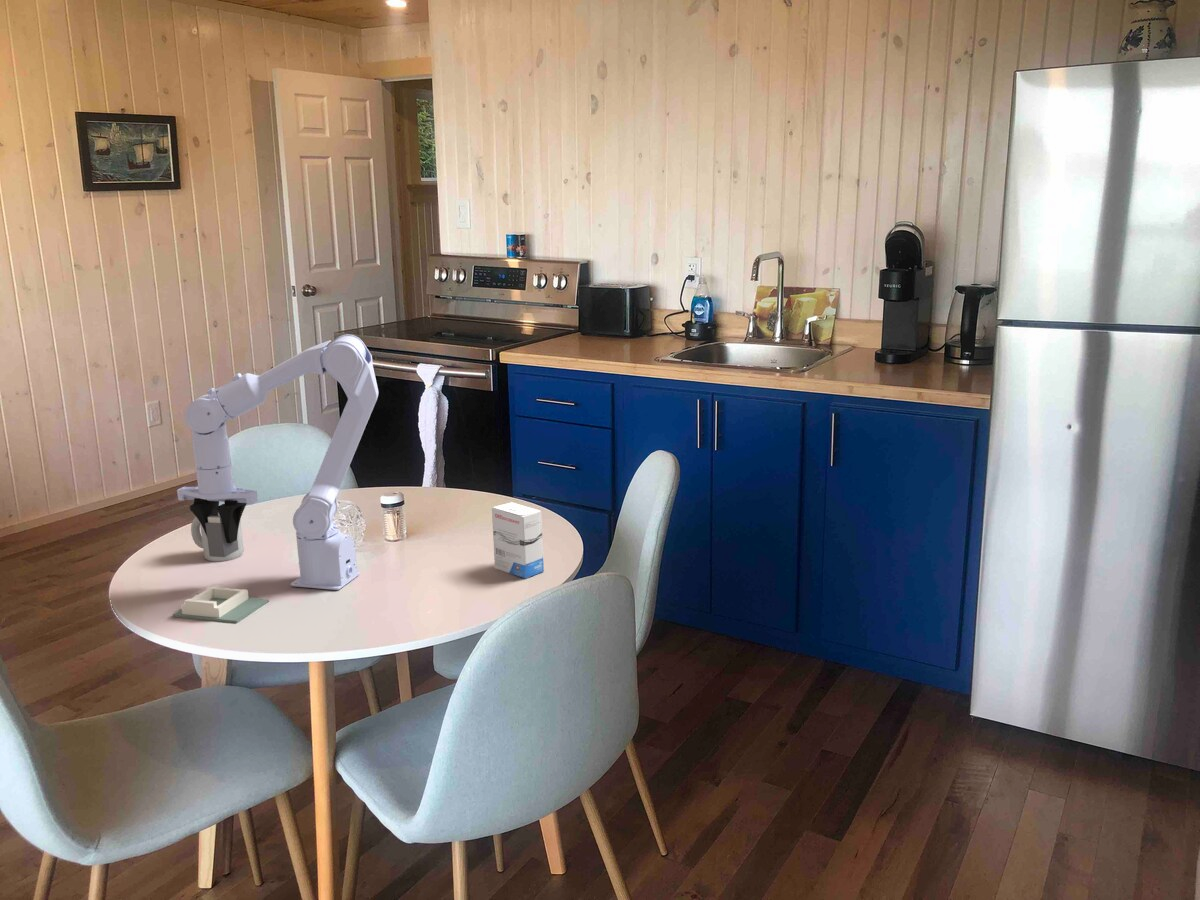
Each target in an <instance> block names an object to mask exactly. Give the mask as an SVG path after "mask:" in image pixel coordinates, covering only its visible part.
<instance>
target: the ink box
mask: <svg viewBox="0 0 1200 900" xmlns="http://www.w3.org/2000/svg"><path fill="white" fill-rule="evenodd" d="M491 516H492V517H491V519H492V521H491V522H492V534H493V536H492V537H493V555H494V556H493V557H494V558H493V560H494V569H496V570H498V571H503V572H505V573H508V574H510V575H514V576H517V577H520V578H522V579H529V578H530V577H533V576H536V575H538V574H540V573H543V572H544V570H545V569H544V548H543V547H544V545H543V544H544V542H543V522H542V518H543V517H542V510H539V509H536V508H533V507H529V506H526V505H522V504H518V503H517V502H513V501H512V502H508V503H504V504H500V505H496V506H493V507H491Z"/></svg>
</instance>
